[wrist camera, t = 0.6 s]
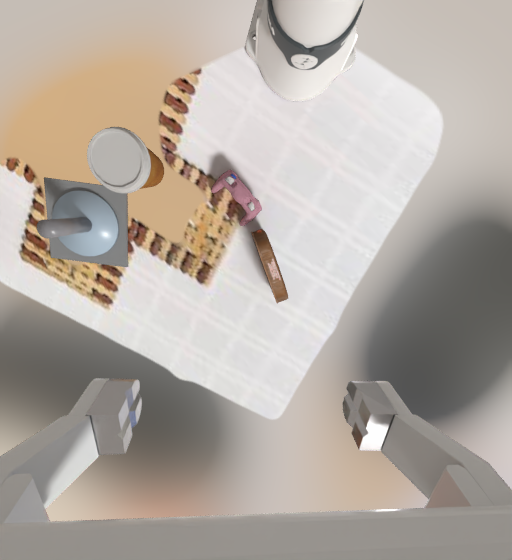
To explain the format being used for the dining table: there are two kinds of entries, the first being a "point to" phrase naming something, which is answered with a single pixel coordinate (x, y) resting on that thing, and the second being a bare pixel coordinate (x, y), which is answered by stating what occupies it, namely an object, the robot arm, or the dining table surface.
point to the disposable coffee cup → (123, 161)
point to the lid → (82, 223)
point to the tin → (270, 265)
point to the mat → (116, 201)
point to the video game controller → (239, 195)
